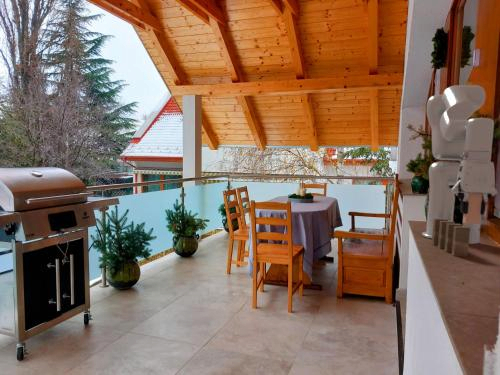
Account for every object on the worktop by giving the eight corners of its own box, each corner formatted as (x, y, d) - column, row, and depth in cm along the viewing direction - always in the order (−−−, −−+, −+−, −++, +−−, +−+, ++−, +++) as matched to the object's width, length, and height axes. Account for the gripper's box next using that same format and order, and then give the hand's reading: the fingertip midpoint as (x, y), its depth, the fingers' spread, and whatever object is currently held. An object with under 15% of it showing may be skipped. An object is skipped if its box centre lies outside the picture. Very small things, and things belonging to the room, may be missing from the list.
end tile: (479, 224, 122) (482, 193, 121) (465, 223, 122) (468, 192, 122) (476, 223, 124) (479, 192, 123) (462, 222, 124) (465, 192, 123)
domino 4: (451, 254, 131) (453, 226, 130) (464, 255, 130) (467, 226, 129) (453, 256, 129) (456, 227, 128) (467, 256, 129) (470, 227, 128)
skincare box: (471, 244, 147) (474, 213, 146) (460, 242, 151) (462, 212, 150) (479, 242, 151) (482, 212, 149) (468, 240, 154) (470, 211, 153)
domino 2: (437, 247, 140) (440, 220, 139) (450, 247, 140) (452, 221, 139) (439, 248, 139) (442, 221, 138) (452, 249, 139) (454, 222, 138)
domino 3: (444, 251, 135) (446, 223, 135) (457, 251, 135) (459, 224, 134) (446, 252, 134) (449, 224, 133) (459, 252, 134) (462, 224, 133)
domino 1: (431, 244, 145) (433, 218, 144) (443, 244, 145) (445, 219, 144) (433, 245, 144) (435, 219, 143) (445, 245, 144) (448, 219, 143)
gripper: (456, 156, 118) (451, 214, 119) (511, 158, 117) (505, 216, 119) (444, 156, 125) (440, 210, 127) (496, 158, 125) (491, 212, 127)
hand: (472, 213), depth 123 cm, fingers closed on end tile, 4 cm apart
